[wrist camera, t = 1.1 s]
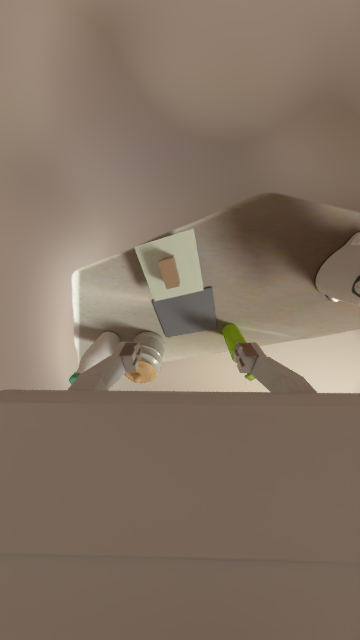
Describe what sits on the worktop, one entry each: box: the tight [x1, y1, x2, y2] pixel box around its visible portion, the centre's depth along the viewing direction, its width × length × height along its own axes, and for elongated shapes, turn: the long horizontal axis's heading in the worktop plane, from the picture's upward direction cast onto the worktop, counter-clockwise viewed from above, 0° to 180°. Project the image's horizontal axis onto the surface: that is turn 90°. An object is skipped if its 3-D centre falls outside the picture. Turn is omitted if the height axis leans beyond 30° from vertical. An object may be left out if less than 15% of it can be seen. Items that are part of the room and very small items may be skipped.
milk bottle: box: [69, 331, 120, 384], centre depth 46 cm, size 8×8×20 cm
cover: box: [134, 229, 204, 301], centre depth 31 cm, size 14×14×6 cm
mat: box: [152, 287, 217, 337], centre depth 47 cm, size 20×16×1 cm
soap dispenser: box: [222, 324, 255, 380], centre depth 41 cm, size 6×7×20 cm
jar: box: [124, 332, 165, 383], centre depth 47 cm, size 13×13×18 cm
